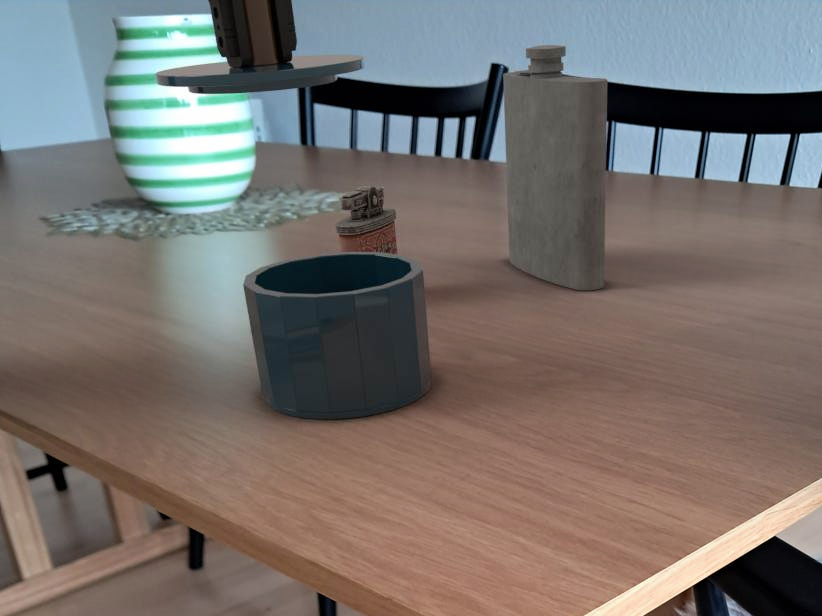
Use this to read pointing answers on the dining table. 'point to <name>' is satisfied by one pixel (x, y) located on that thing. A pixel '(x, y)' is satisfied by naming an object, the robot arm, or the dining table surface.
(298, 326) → the pot
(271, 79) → the pot lid
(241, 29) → the robot arm
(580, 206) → the hip flask
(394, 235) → the lighter
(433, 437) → the dining table surface
